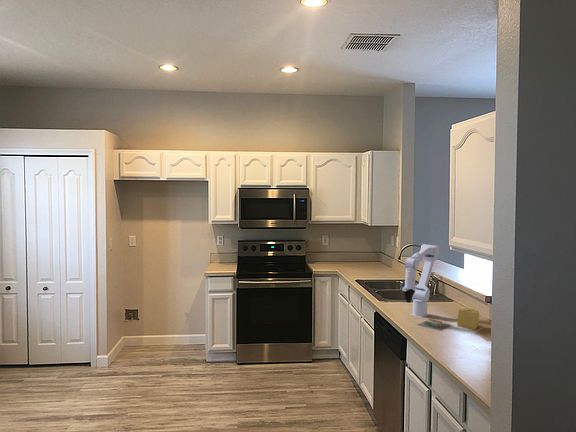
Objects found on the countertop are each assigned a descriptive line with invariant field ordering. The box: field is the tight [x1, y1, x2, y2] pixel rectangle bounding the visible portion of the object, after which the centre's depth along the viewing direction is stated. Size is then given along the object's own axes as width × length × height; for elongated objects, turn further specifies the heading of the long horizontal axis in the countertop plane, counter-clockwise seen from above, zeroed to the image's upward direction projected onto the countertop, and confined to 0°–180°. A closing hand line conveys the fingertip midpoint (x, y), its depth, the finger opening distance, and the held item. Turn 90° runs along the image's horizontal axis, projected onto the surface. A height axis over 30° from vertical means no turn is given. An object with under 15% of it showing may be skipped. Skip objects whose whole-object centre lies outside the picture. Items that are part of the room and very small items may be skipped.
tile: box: [424, 318, 443, 328], centre depth 265 cm, size 2×7×7 cm
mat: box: [417, 321, 453, 332], centre depth 267 cm, size 16×14×1 cm
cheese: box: [456, 305, 480, 330], centre depth 269 cm, size 10×11×10 cm
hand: (408, 302), depth 275 cm, fingers closed
